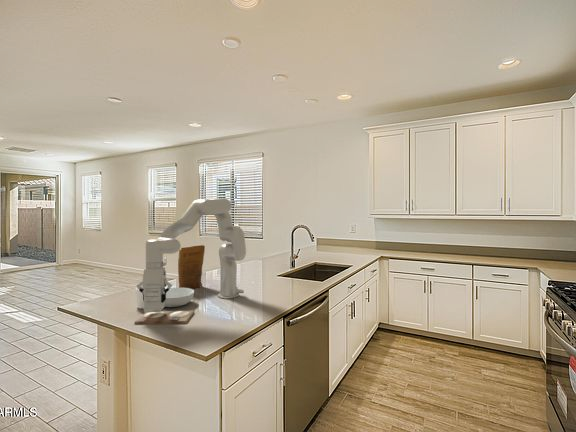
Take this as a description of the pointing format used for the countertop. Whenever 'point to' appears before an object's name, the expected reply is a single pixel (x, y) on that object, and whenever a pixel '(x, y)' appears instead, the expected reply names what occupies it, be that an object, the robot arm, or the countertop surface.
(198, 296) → the countertop surface
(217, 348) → the countertop surface
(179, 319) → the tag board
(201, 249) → the pancake mix bag
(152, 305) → the supplement box
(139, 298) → the white cup
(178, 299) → the serving bowl
